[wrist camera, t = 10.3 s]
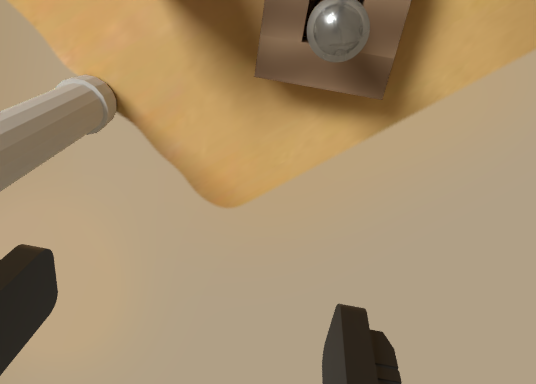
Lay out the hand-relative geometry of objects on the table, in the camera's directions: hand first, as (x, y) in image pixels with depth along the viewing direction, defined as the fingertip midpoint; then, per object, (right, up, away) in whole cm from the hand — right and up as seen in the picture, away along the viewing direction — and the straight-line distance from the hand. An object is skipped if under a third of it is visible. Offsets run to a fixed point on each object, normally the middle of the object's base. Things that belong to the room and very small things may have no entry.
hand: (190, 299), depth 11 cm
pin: (+8, +18, +24) cm, 31 cm away
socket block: (+8, +18, +24) cm, 31 cm away
